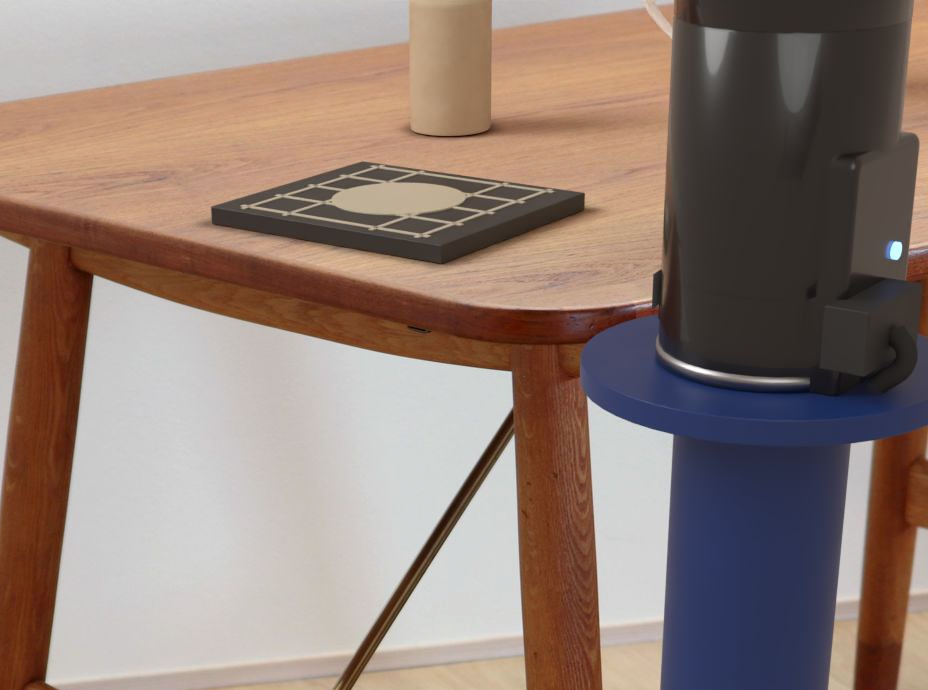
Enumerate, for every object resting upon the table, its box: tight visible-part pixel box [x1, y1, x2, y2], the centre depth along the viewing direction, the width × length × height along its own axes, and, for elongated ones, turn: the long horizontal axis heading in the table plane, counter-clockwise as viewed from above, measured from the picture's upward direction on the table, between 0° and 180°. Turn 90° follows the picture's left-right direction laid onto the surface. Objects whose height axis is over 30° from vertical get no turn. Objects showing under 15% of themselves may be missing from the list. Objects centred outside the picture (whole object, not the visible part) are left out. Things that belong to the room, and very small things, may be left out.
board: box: [210, 160, 586, 265], centre depth 109 cm, size 16×14×1 cm
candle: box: [408, 0, 493, 137], centre depth 130 cm, size 6×6×10 cm
